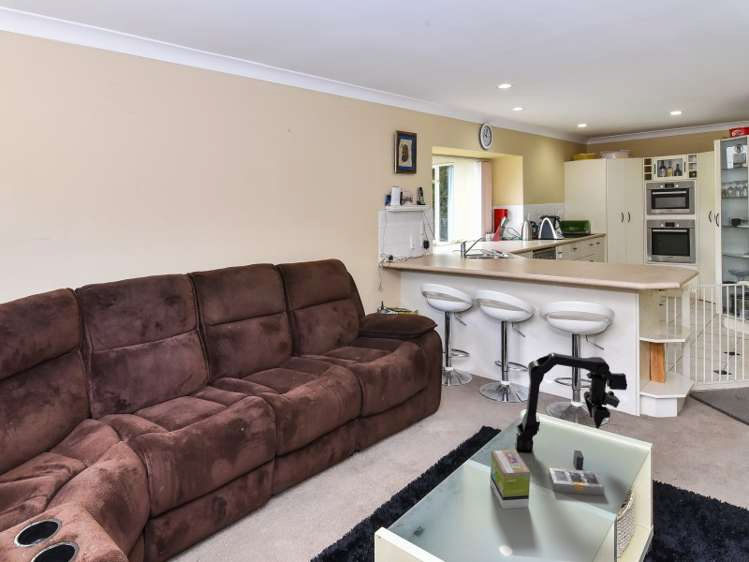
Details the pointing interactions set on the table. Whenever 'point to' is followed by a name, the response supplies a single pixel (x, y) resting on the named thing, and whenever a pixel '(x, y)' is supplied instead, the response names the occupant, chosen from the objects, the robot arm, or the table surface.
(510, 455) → the tea box
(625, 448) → the table surface
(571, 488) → the rack
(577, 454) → the panel
